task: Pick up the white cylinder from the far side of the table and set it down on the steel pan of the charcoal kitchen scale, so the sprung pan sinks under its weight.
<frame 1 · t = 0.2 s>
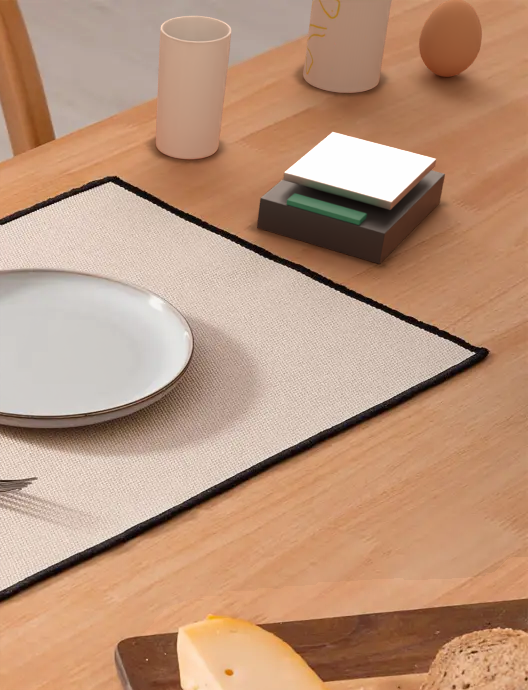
scale: (349, 215, 143), on the table
white cylinder: (340, 79, 168), on the table
mug: (190, 141, 156), on the table
egg: (443, 76, 169), on the table
scale pan: (360, 169, 141), point 4 cm above the table, slide at 0.0 cm
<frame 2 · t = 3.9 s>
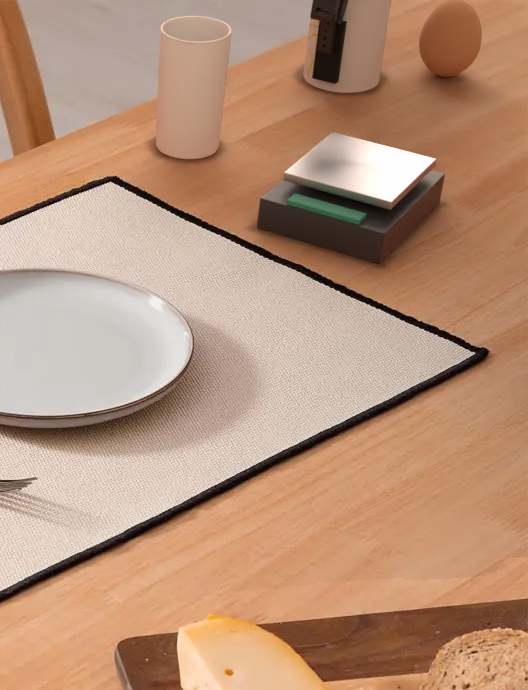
hand: (342, 66, 168), 1 cm above the table, tool pointing down, fingers closed on white cylinder, 8 cm apart
white cylinder: (340, 79, 168), on the table, touching gripper
everything else where it was.
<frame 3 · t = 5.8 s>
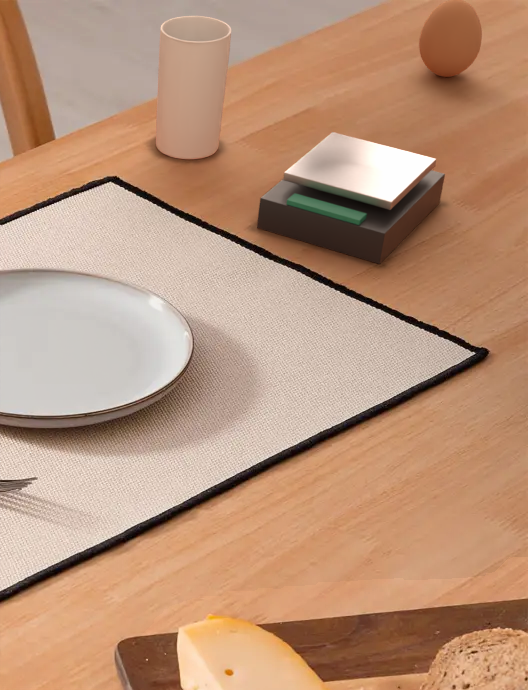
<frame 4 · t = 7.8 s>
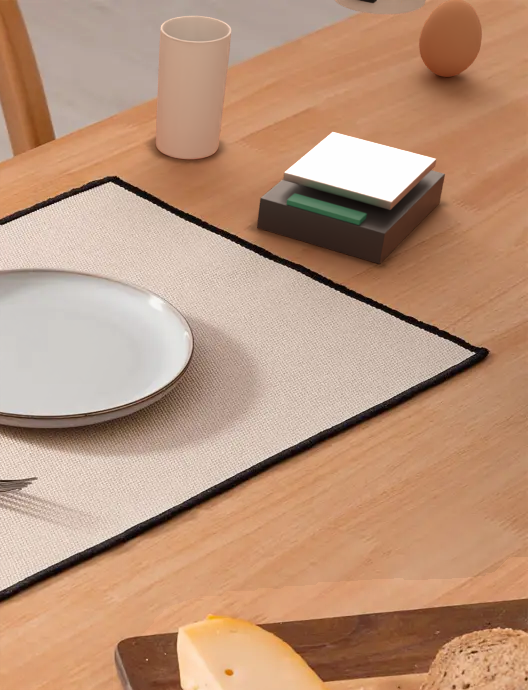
white cylinder: (378, 0, 139), point 17 cm above the table, touching gripper
everything else where it was.
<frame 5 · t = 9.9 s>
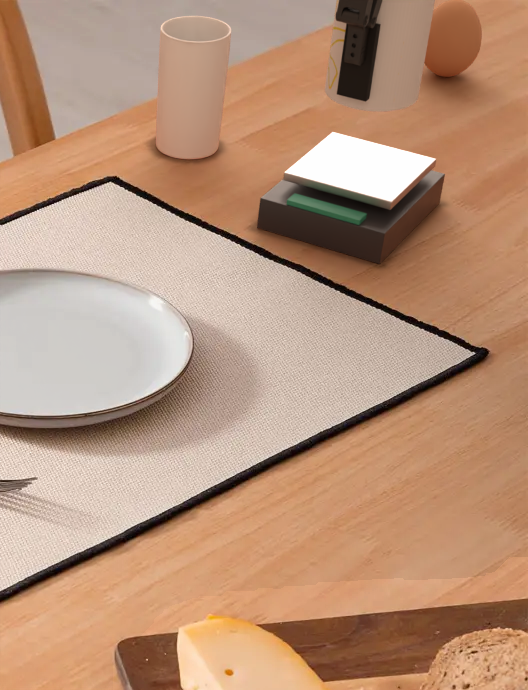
hand: (373, 79, 136), 13 cm above the table, tool pointing down, fingers closed on white cylinder, 8 cm apart
white cylinder: (371, 94, 137), point 11 cm above the table, touching gripper
everything else where it was.
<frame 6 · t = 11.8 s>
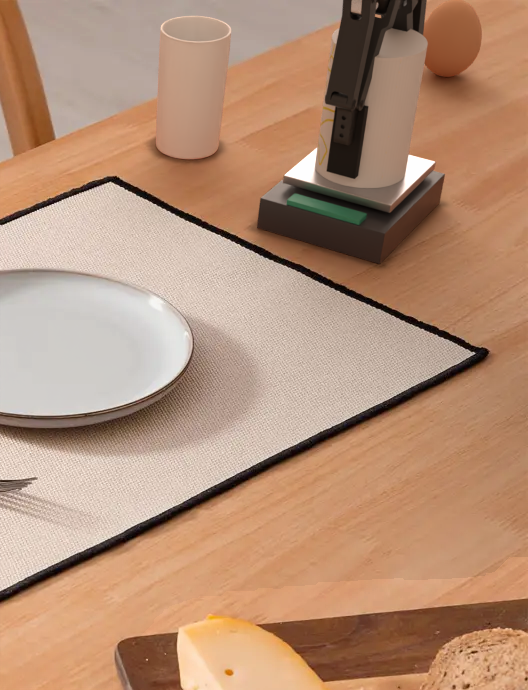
hand: (362, 155, 140), 6 cm above the table, tool pointing down, fingers closed on white cylinder, 8 cm apart
white cylinder: (359, 170, 141), point 4 cm above the table, touching gripper, scale pan
scale pan: (359, 172, 142), point 4 cm above the table, slide at -0.3 cm, touching white cylinder
everything else where it was.
when the fingers open (6 cm above the table, at t = 12.0 s): white cylinder stays where it is, resting on scale pan.
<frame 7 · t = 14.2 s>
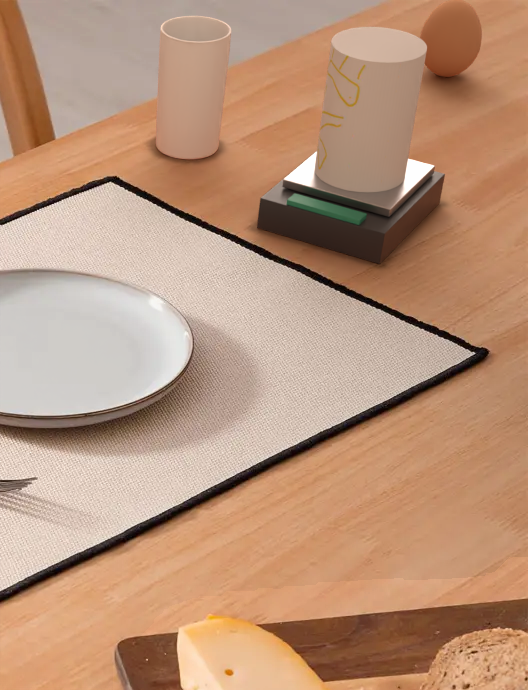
white cylinder: (359, 174, 142), point 4 cm above the table, touching scale pan
scale pan: (359, 176, 142), point 4 cm above the table, slide at -0.7 cm, touching white cylinder
everything else where it was.
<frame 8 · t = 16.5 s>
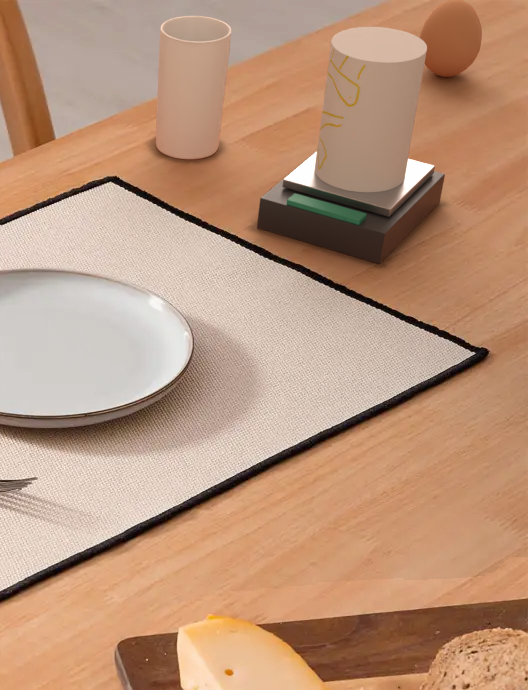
nothing on the table moved.
at the end: white cylinder inside the target area on the scale (0.0 cm from its centre), point 3.7 cm above the scale's base; white cylinder tilted 0°; scale pan slide at -0.7 cm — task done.
